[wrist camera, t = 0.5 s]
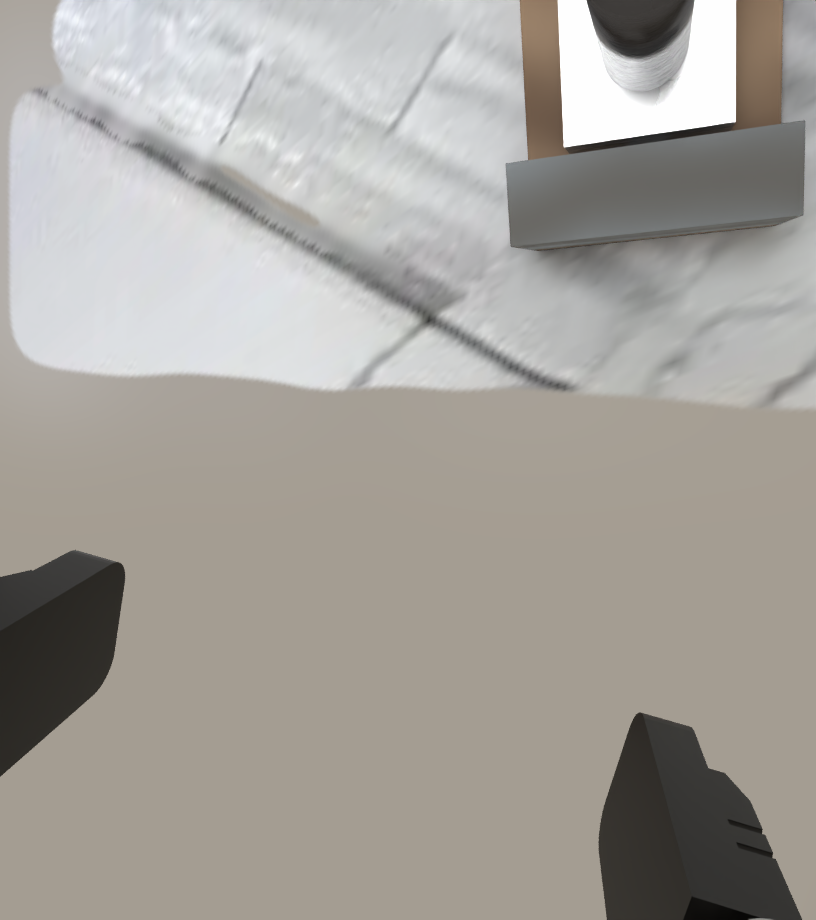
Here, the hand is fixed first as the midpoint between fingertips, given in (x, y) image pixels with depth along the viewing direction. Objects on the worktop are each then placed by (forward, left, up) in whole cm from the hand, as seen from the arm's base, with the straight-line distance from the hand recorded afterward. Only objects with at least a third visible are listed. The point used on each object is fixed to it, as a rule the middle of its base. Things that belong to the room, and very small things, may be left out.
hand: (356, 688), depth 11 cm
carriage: (-14, +4, -25) cm, 28 cm away
